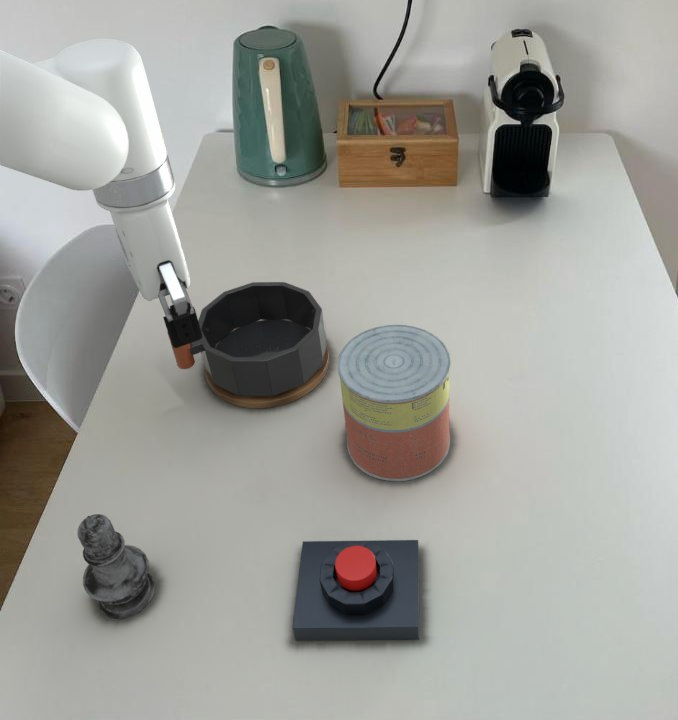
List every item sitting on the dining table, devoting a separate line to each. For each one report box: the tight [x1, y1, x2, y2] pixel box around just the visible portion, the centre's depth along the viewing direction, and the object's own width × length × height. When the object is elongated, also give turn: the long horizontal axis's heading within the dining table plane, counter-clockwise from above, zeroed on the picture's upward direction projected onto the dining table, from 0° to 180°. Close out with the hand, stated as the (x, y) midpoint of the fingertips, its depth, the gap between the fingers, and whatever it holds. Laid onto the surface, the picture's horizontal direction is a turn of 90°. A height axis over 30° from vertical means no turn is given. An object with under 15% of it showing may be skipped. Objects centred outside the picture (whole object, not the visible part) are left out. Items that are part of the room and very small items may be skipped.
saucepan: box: [167, 281, 328, 397], centre depth 95 cm, size 18×14×8 cm
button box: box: [292, 539, 420, 642], centre depth 74 cm, size 11×9×4 cm
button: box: [335, 546, 377, 591], centre depth 72 cm, size 4×4×2 cm
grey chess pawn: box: [77, 513, 156, 620], centre depth 72 cm, size 6×6×12 cm
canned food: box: [337, 324, 451, 482], centre depth 85 cm, size 11×11×12 cm
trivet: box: [204, 320, 330, 409], centre depth 99 cm, size 15×15×1 cm
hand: (174, 316), depth 88 cm, fingers open, 9 cm apart
